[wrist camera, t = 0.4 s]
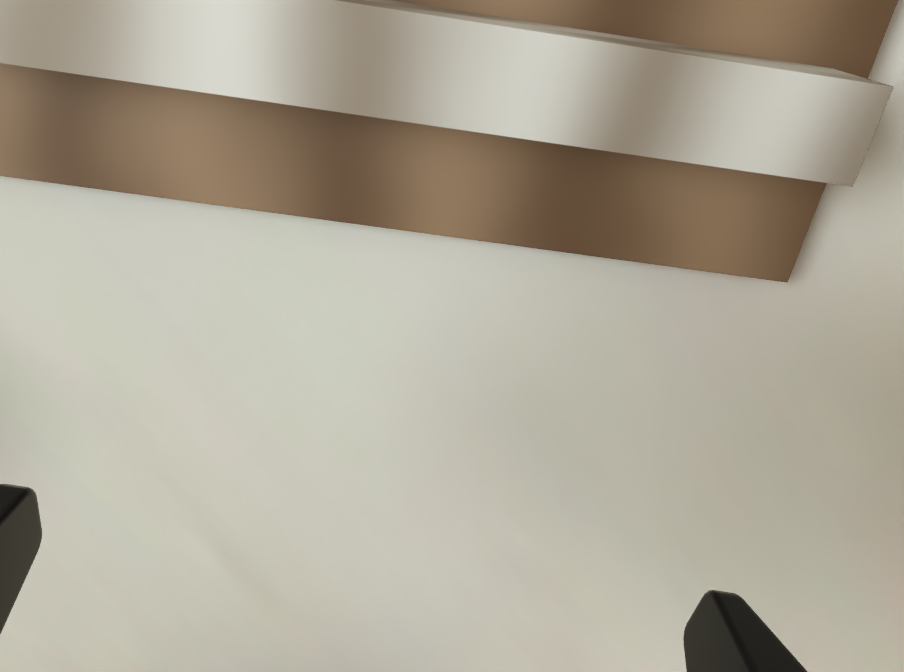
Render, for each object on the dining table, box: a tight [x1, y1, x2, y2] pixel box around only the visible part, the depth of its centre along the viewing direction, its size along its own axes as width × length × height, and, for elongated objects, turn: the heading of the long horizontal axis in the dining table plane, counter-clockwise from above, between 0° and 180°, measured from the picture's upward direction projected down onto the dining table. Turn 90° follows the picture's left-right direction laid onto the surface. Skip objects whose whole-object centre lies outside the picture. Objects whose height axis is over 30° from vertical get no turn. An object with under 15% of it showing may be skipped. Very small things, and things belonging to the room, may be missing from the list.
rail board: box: [0, 0, 898, 282], centre depth 18 cm, size 26×10×4 cm, turn 82°
